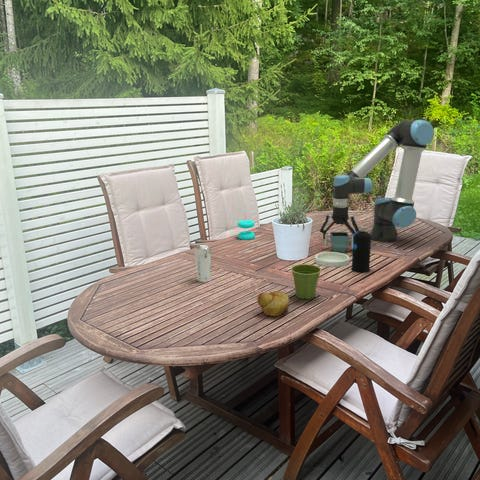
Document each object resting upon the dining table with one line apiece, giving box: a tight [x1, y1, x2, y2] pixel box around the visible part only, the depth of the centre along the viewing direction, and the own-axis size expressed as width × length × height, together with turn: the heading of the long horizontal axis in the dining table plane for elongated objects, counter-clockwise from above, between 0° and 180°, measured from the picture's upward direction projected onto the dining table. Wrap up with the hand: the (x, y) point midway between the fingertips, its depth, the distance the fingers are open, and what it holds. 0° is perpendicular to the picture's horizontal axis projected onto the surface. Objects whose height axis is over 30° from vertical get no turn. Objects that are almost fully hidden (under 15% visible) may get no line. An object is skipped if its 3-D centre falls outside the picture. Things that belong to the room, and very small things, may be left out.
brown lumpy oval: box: [256, 290, 290, 317], centre depth 159 cm, size 13×10×8 cm
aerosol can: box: [350, 225, 372, 274], centre depth 197 cm, size 8×8×20 cm
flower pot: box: [329, 231, 350, 253], centre depth 227 cm, size 9×9×9 cm
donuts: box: [237, 219, 256, 241], centre depth 255 cm, size 10×10×10 cm
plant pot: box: [290, 263, 323, 300], centre depth 171 cm, size 12×12×11 cm
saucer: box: [314, 251, 351, 268], centre depth 212 cm, size 16×16×2 cm
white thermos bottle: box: [194, 244, 212, 283], centre depth 191 cm, size 7×7×15 cm
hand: (339, 246), depth 227 cm, fingers open, 13 cm apart
